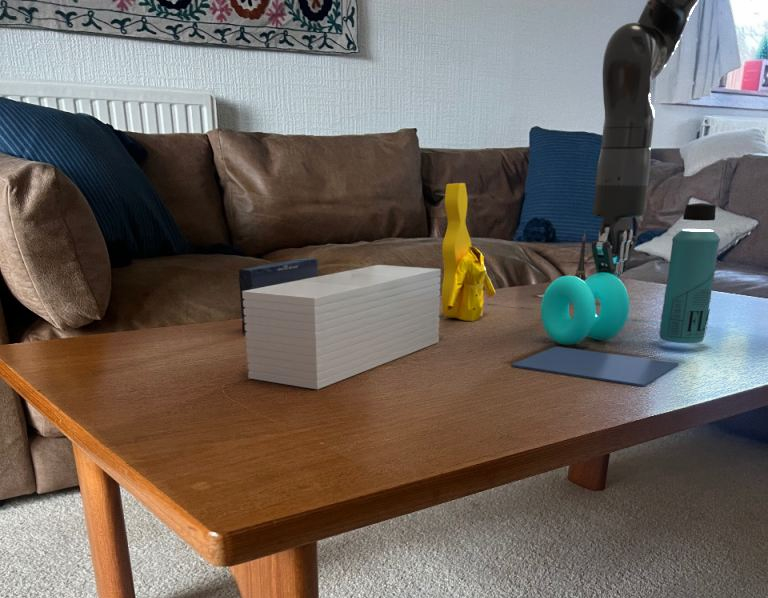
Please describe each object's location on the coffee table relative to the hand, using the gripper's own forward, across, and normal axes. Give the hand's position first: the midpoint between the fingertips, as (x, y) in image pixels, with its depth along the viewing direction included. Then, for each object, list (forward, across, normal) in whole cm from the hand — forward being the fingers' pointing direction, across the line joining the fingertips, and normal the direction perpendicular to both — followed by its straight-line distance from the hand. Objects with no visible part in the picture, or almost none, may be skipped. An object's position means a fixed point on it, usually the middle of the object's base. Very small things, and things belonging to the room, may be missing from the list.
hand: (608, 301), depth 123 cm
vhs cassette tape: (+5, -25, +47) cm, 53 cm away
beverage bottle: (+5, -4, -13) cm, 15 cm away
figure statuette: (+5, -1, +26) cm, 26 cm away
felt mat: (+5, -22, -7) cm, 24 cm away
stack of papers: (+5, -38, +22) cm, 44 cm away
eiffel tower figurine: (+6, +30, +17) cm, 35 cm away
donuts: (+5, -8, 0) cm, 10 cm away
